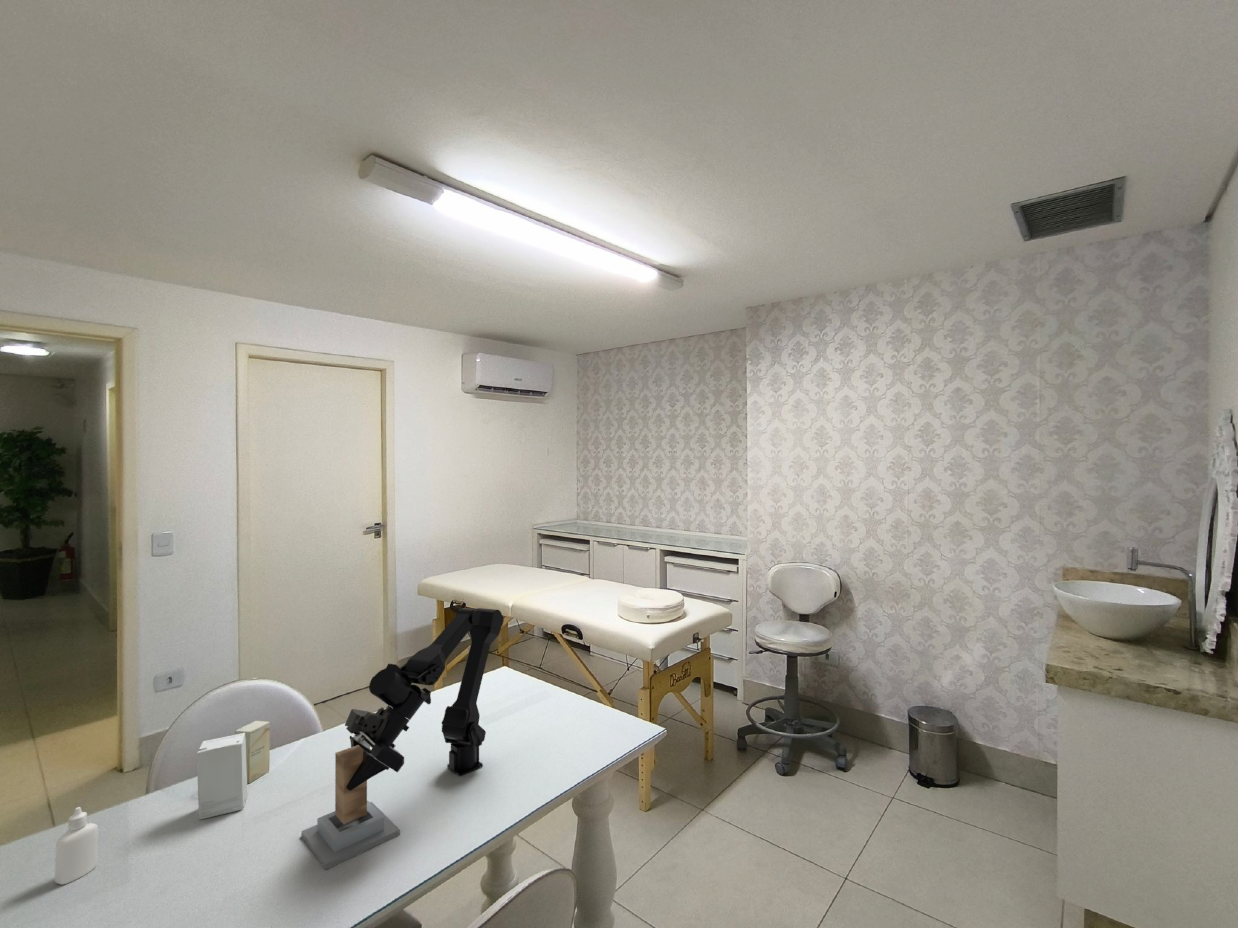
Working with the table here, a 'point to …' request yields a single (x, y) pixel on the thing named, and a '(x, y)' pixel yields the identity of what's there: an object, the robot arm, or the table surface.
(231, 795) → the skincare box
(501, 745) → the table surface
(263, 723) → the skincare box
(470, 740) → the robot arm
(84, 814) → the eye dropper bottle
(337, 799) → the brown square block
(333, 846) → the housing
